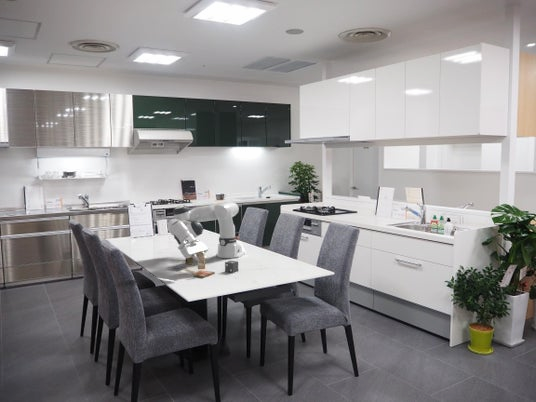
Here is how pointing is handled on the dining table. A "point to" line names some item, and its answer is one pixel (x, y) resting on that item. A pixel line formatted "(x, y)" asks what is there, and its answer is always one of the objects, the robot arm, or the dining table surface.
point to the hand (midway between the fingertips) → (202, 259)
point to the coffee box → (191, 261)
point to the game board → (198, 274)
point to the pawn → (202, 262)
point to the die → (231, 266)
